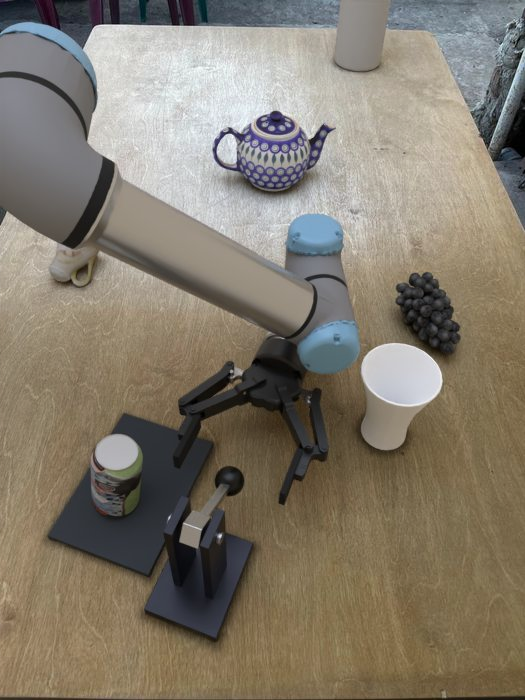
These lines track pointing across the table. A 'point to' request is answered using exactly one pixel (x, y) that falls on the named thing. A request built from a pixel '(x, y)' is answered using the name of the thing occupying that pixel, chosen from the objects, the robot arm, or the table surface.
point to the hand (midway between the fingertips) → (227, 480)
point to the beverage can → (116, 475)
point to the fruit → (429, 311)
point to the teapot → (274, 150)
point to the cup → (396, 391)
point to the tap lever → (211, 505)
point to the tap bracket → (198, 575)
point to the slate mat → (152, 509)
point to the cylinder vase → (361, 33)
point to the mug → (72, 263)
